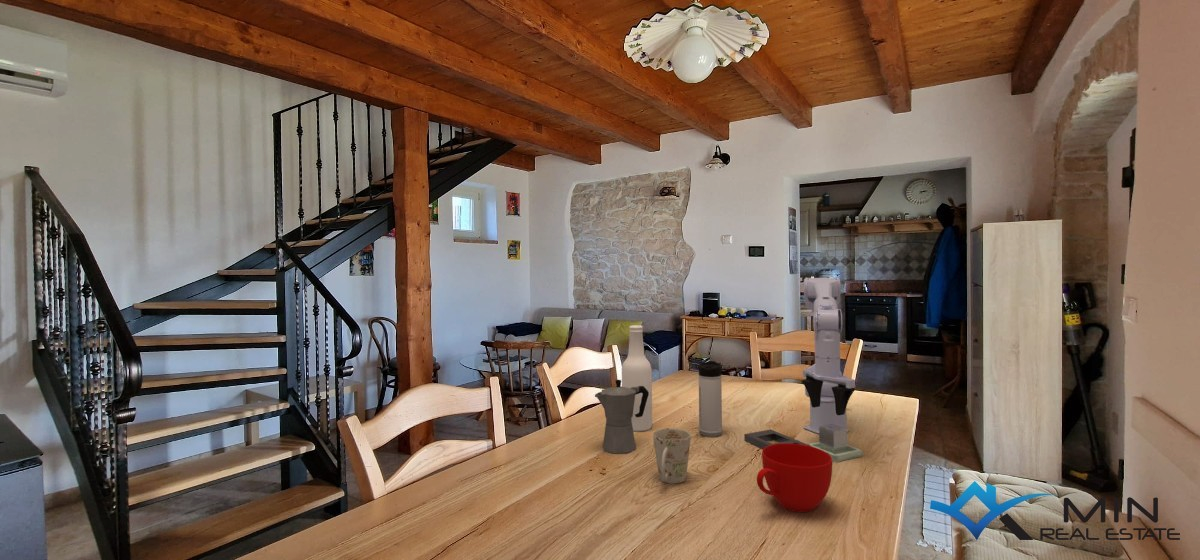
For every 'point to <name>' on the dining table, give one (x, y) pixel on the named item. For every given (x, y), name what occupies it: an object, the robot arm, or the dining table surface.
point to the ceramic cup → (796, 475)
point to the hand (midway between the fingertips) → (827, 410)
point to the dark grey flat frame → (769, 438)
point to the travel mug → (710, 399)
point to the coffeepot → (620, 416)
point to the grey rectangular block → (833, 438)
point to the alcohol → (638, 378)
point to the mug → (672, 454)
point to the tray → (850, 453)
